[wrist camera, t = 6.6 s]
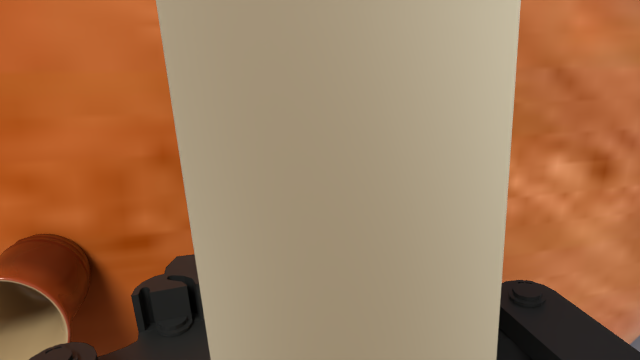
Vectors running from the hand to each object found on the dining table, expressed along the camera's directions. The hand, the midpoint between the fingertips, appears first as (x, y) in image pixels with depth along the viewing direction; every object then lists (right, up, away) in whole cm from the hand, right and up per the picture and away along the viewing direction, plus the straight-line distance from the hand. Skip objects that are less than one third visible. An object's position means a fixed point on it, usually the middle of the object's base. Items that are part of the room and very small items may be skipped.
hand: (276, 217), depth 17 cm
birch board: (-2, +3, +10) cm, 10 cm away
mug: (-23, -8, +30) cm, 39 cm away
